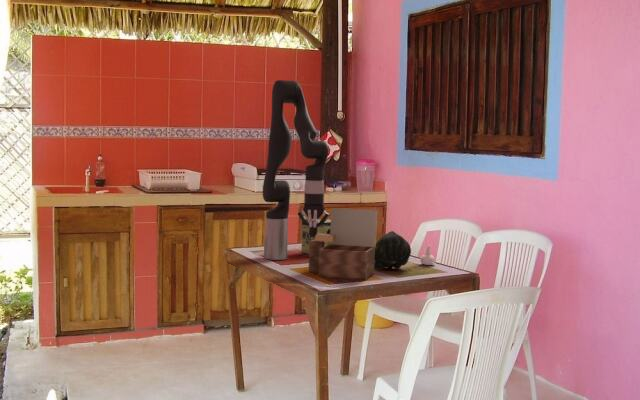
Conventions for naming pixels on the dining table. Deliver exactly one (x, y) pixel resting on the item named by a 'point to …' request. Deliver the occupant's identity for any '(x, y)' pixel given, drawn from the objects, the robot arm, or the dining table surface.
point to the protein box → (307, 237)
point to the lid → (354, 227)
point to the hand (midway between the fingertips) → (313, 236)
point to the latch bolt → (326, 237)
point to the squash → (392, 251)
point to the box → (341, 260)
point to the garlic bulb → (427, 257)
